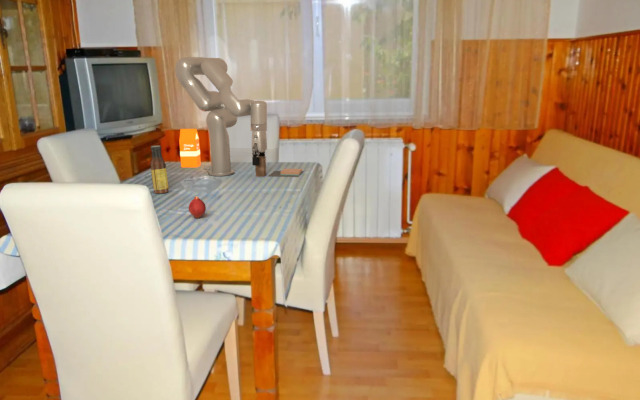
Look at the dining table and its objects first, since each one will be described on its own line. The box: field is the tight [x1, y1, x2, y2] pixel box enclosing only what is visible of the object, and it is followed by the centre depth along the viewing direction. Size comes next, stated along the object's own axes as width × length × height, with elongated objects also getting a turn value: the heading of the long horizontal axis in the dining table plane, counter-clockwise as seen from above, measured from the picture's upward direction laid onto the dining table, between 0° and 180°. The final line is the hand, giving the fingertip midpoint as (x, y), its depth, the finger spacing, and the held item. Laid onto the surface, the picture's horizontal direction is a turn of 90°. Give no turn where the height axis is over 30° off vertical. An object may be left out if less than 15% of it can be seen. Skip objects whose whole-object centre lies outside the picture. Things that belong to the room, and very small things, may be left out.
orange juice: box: [178, 128, 202, 168], centre depth 277 cm, size 8×9×20 cm
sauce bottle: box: [150, 145, 170, 195], centre depth 218 cm, size 6×6×20 cm
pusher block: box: [254, 155, 267, 178], centre depth 247 cm, size 4×4×10 cm
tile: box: [280, 168, 303, 176], centre depth 252 cm, size 2×8×9 cm
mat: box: [268, 170, 304, 178], centre depth 252 cm, size 15×14×1 cm
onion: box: [188, 195, 207, 219], centre depth 181 cm, size 6×6×8 cm
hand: (258, 163), depth 248 cm, fingers open, 9 cm apart
